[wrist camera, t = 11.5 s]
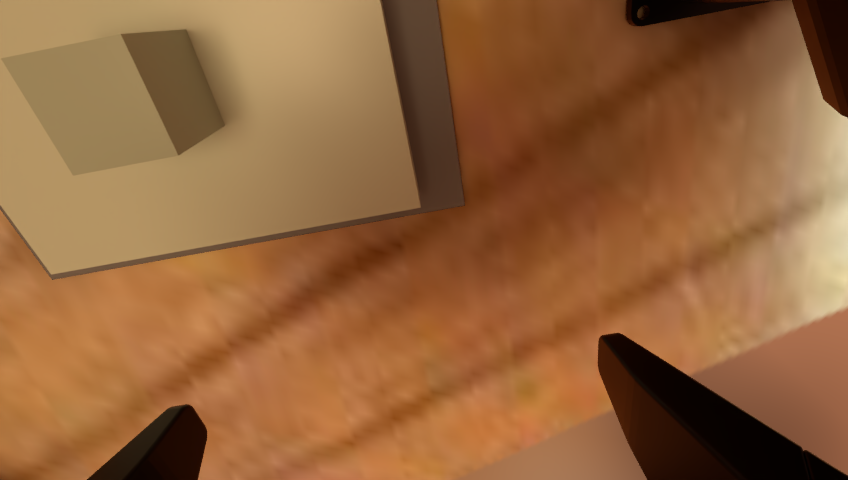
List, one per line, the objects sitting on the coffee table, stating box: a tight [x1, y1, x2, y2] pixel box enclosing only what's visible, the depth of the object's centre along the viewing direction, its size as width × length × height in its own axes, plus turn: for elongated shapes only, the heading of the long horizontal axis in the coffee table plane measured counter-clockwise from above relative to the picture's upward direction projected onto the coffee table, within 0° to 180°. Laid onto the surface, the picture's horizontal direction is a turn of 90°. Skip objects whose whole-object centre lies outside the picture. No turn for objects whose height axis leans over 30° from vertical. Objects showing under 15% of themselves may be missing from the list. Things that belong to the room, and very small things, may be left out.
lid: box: [0, 0, 421, 275], centre depth 15 cm, size 18×14×6 cm
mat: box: [0, 0, 465, 280], centre depth 18 cm, size 22×16×1 cm
